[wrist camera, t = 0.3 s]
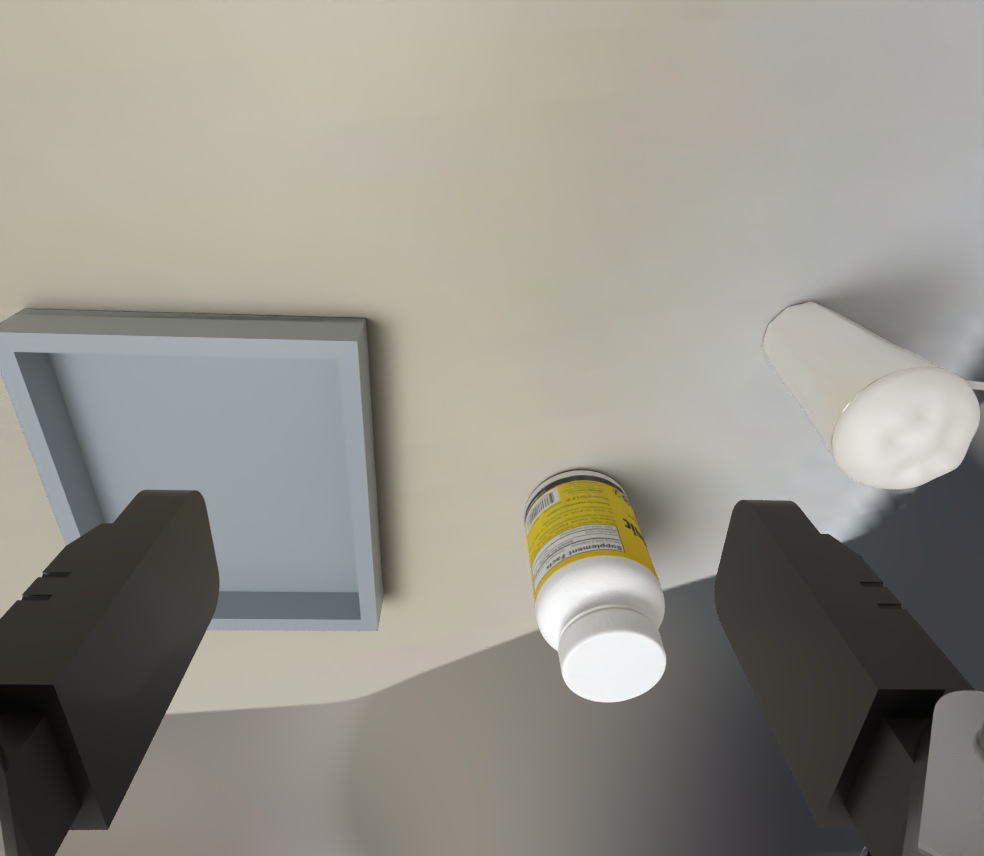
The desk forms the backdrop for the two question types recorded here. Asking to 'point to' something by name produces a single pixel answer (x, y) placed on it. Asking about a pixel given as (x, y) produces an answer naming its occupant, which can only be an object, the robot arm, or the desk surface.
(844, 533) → the desk surface
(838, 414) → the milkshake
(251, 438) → the tray
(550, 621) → the supplement bottle
